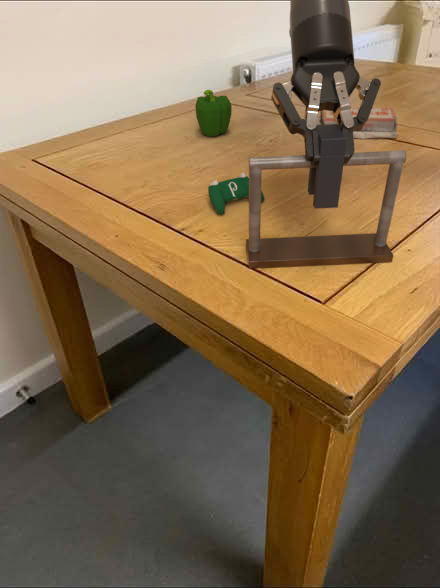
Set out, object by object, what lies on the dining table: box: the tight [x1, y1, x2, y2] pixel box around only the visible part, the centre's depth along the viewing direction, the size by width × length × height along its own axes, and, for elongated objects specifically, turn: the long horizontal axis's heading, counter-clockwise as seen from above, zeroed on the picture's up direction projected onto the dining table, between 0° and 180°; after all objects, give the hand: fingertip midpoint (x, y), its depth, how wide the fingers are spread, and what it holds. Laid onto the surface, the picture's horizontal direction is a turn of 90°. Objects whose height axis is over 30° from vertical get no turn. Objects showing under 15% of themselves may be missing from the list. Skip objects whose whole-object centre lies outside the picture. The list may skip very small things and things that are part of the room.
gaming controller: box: [207, 172, 266, 215], centre depth 80 cm, size 9×4×6 cm
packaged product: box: [316, 106, 398, 140], centre depth 105 cm, size 18×5×10 cm
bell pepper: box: [194, 89, 232, 138], centre depth 106 cm, size 8×8×10 cm
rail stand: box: [245, 149, 407, 270], centre depth 63 cm, size 20×6×15 cm, turn 92°
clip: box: [307, 124, 347, 210], centre depth 59 cm, size 5×3×9 cm, turn 2°
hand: (330, 161), depth 57 cm, fingers closed on clip, 3 cm apart
